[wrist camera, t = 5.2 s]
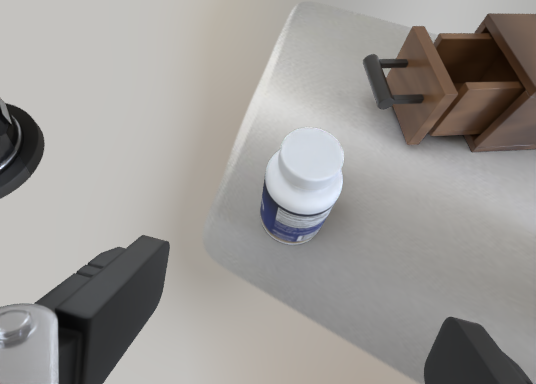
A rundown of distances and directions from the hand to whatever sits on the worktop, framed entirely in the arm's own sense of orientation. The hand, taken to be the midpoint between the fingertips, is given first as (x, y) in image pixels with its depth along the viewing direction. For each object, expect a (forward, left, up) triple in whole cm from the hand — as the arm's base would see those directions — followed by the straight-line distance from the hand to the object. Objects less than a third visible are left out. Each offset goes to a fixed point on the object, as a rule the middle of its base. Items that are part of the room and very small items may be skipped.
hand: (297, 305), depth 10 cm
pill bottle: (+8, +6, -17) cm, 20 cm away
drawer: (+27, +7, -16) cm, 32 cm away
